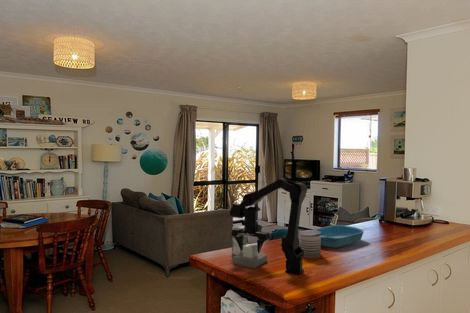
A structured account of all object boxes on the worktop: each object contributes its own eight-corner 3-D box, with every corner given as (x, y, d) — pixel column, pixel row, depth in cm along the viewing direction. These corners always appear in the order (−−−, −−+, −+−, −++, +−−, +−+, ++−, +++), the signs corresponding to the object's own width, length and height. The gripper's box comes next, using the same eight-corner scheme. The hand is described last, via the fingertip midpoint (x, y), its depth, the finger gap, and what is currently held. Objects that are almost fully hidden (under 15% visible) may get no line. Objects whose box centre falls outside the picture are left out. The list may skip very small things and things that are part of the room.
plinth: (266, 261, 173) (266, 254, 173) (255, 267, 162) (255, 261, 162) (245, 257, 179) (245, 251, 179) (232, 263, 168) (232, 257, 168)
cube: (257, 255, 171) (257, 245, 171) (252, 258, 167) (252, 247, 167) (248, 254, 174) (248, 243, 174) (242, 256, 170) (243, 246, 169)
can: (319, 259, 177) (319, 235, 177) (296, 256, 181) (296, 233, 181) (321, 252, 188) (322, 230, 188) (300, 250, 192) (300, 228, 192)
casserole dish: (334, 251, 191) (334, 238, 191) (301, 243, 208) (301, 231, 208) (370, 241, 214) (370, 229, 214) (338, 234, 231) (338, 223, 231)
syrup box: (238, 251, 188) (238, 224, 188) (247, 254, 184) (247, 226, 184) (231, 254, 184) (231, 226, 183) (240, 256, 180) (240, 227, 180)
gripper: (275, 218, 172) (274, 250, 173) (241, 215, 182) (241, 245, 182) (265, 222, 163) (264, 256, 163) (230, 218, 172) (230, 250, 173)
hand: (250, 251), depth 170 cm, fingers open, 9 cm apart
